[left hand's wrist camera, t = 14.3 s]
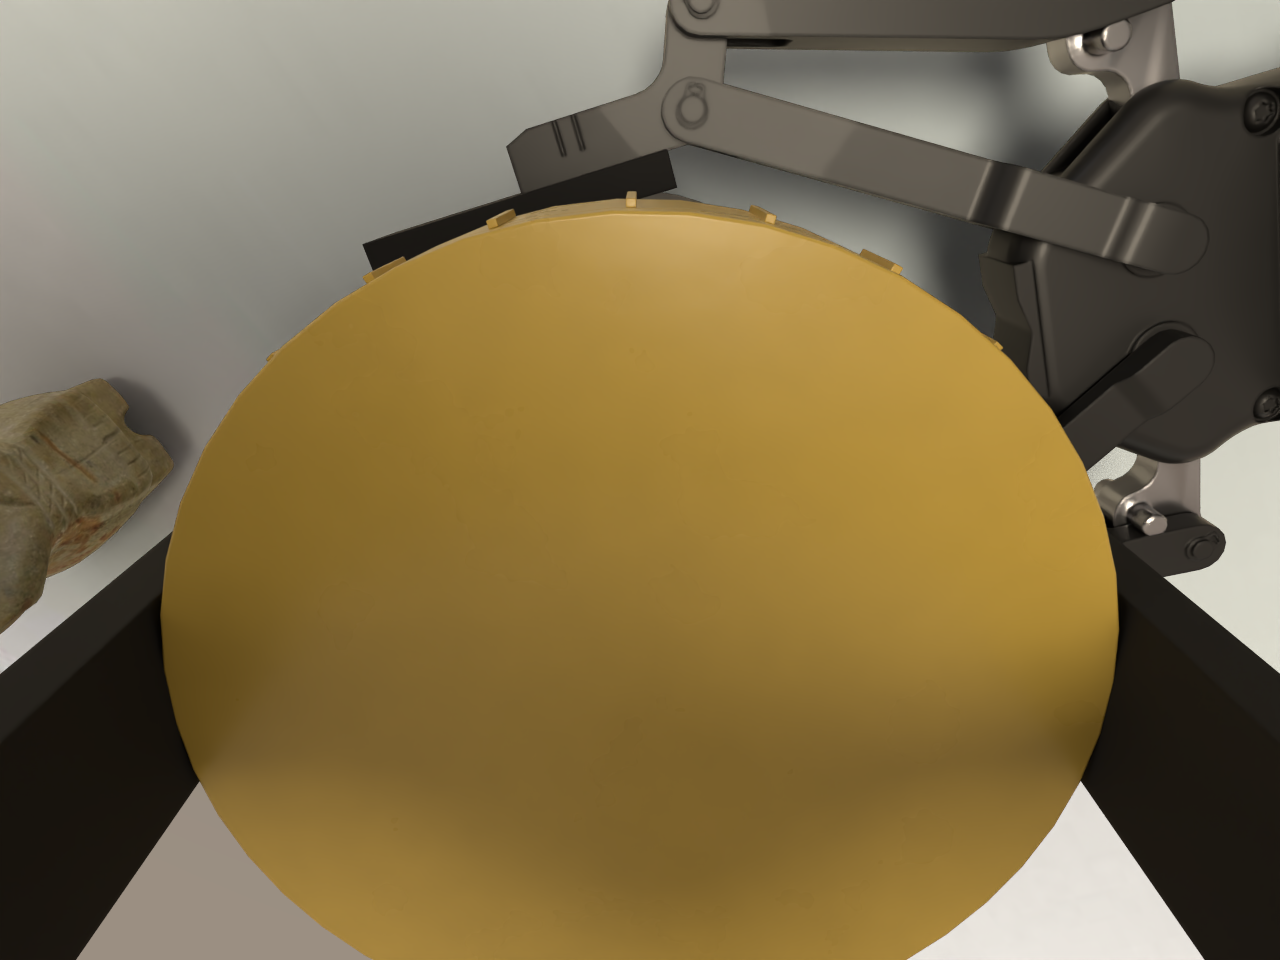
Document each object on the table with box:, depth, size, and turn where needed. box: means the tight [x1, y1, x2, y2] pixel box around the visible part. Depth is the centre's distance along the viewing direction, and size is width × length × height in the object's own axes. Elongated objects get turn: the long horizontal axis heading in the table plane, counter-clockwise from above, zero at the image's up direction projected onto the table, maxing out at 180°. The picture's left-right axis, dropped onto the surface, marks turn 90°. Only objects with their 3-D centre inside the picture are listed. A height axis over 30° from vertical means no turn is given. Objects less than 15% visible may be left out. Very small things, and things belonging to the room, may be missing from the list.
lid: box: [160, 191, 1119, 960], centre depth 11 cm, size 12×12×2 cm
